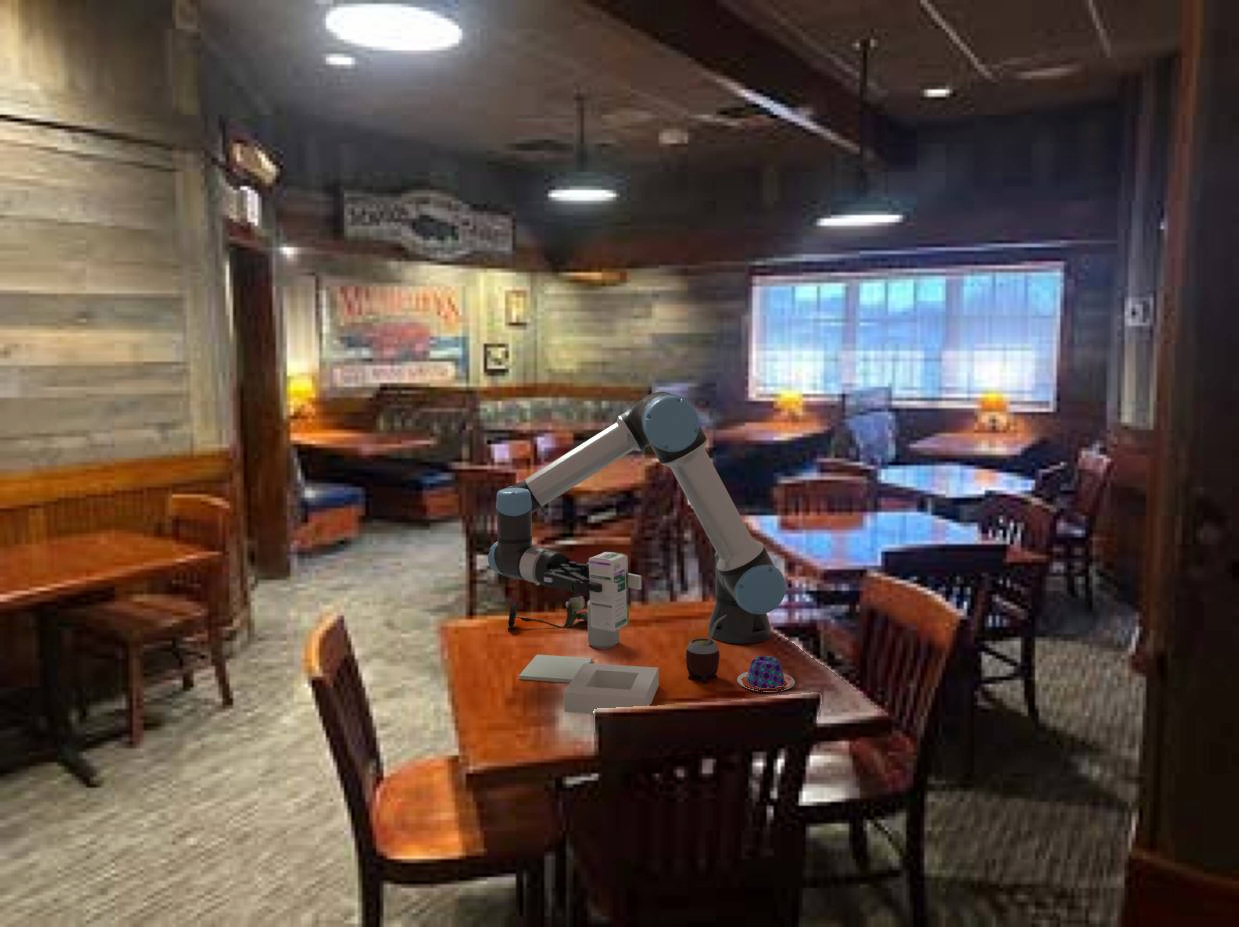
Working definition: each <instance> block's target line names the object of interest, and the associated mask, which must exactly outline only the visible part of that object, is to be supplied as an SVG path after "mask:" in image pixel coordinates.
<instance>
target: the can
mask: <svg viewBox="0 0 1239 927" xmlns="http://www.w3.org/2000/svg"><path fill="white" fill-rule="evenodd" d="M586 604H587V608H586V609H587V613H588V621H587V642H588V644H590V646H592V647H593V648H595V649H611V648H615V646H616V645H618V643H620V629H618V630H616V631H615V632H612V631H606V630H601V629H596V628H592V627H591V616H590V599H589V600H588V601H587V602H586Z"/></svg>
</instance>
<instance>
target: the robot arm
mask: <svg viewBox="0 0 1239 927" xmlns="http://www.w3.org/2000/svg"><path fill="white" fill-rule="evenodd" d="M699 418H700V417H699V416H698V412H697V409H696V408H695V407H694V406H693V404H692V403H691V402H690V401H688V400H687V399H685V397H682V396H681V395H678V394H674V393H670V392H665V391H656V392H653V393H651V394H649V395H646V396H645V397H644V398H642V399H641V400H640V401H638V402H637V403H635V404H634V405H633V406H631V407H630V408H628V409H627V410H625V411H624V412H622V413H621V414H619V415H618V416H617V418H616V422H614V423H613V424H611V425H610V426H608V427H607V428H605V429H603V430H602V431H600V432H598V433H597V434H595V435H593V436H592V437H590V438H589V439H587V440H586V441H584V442H582V443H581V444H580V445H578V446H576V447H575V448H573V449H571V450H569V451H568V452H566V453H565V454H563V455H562V456H560V457H558V458H557V459H555V460H553V461H552V462H550V463H548V464H546V466H543V467H542V468H540V469H539V470H537V471H535V472H534V473H532V474H531V475H529V476H528V477H526V478H525V479H522V480H521V481H520V482H518V483H516V484H515V485H511V486H507V487H506V488H502V489H500V490H498V491H497V493H496V502H495V507H496V508H495V509H496V525H497V541H496V542H494V543H493V544H492V545H491V546H490V548H489V552H488V554H487V563H488V565H489V567H490V570H492V571H493V572H495V573H496V574H500V575H502V576H504V577H506V578H513V579H517V580H521V581H522V580H523V581H526V582H530V583H534V584H535V586H539V585H542V586H545V587H549V588H553V589H560V590H564V591H567V592H571V593H573V594H576V595H577V594H580V593H581V591H582V592H583V597H586V596H590V592H593V593H597V594H601V595H605V596H609V597H613V598H616V597H618V583H613V582H609V581H605V580H600V579H596V578H590V581H589V560H586V561H585V563H582V562H581V563H580V562H578V561H571V560H570V559H569V557H568V556H567V554H565V553H563V552H560V551H556V550H550V549H546V548H542V547H537V546H533V534H532V533H533V529H532V528H533V527H532V525H533V524H532V521H533V520H532V519H533V518H532V517H533V516H532V514H533V513H534V512H536V511H538V509H540V508H542V507H543V506H545V505H546V504H548V503H550V502H551V501H553V500H555V499H557V498H558V497H560V496H561V495H564V494H565V493H566V492H567V491H569V490H571V489H572V488H574V487H575V486H577V485H579V484H580V483H583V482H584V481H586V480H587V479H589V478H591V477H592V476H594V475H595V474H597V473H599V472H600V471H602V470H603V469H605V468H607V467H608V466H609V465H611V464H613V463H615V462H616V461H618V460H619V459H621V458H623V457H624V456H626V455H628V454H629V453H631V452H632V451H638V452H641V451H642V450H644V449H645V448H648V447H650V446H651V448H652V450H653V452H654V454H655V456H656V458H657V460H658V461H659V463H660V465H663V466H665V467H669V468H670V469H671V471H672V473H673V475H674V477H675V479H676V480H677V482H678V484H679V486H680V487H681V489H682V492H683V494H684V495H685V497H686V499H687V501H688V503H689V505H690V506H691V508H692V510H693V512H694V514H695V516H696V517H697V520H698V521H699V523H700V525H701V526H702V528H703V531H704V532H705V534H706V536H707V538H708V539H709V541H710V544H711V545H712V547H713V548H714V550H715V554H714V557H715V601H714V602H715V603H714V605H713V609H712V612H711V615H710V618H709V621H708V627H707V631H708V635H709V636H710V633H711V631H712V628H713V627H712V626H713V624H714V622H716V621H717V620H718V619H719V618H721V617H723V616H725V615H727V616H726V617H725V618H723V619H722V620H720V621H719V622H718V623H717V626H716V628H715V630H714V633H713V635H712V638H711V639H714V640H716V641H719V642H723V643H729V644H737V645H738V644H739V645H740V644H741V645H743V644H745V645H746V644H757V643H761V642H763V641H766V640H768V639H770V637H771V636H772V635H771V634H772V633H771V632H772V631H771V622H770V619H769V616H768V613H771V612H772V611H774V610H775V609H777V608H778V606H780V605H781V603H782V602H783V600H784V598H785V595H786V591H787V582H786V579H785V577H784V574H783V572H782V571H780V569H779V568H777V567H776V566H775V564H774V562H773V561H772V560H773V559H772V558H771V556H770V554H769V553H768V550H767V549H766V548H765V544H764V543H763V542H762V541H757V540H754V539H753V537H752V535H751V534H750V531H749V530H748V527H747V526H746V524H745V522H744V520H743V518H742V516H741V515H740V512H739V511H738V509H737V507H736V505H735V503H734V502H733V500H732V498H731V496H730V494H729V492H728V490H727V488H726V485H724V483H723V481H722V479H721V477H720V475H719V474H718V472H717V469H716V468H715V466H714V464H713V462H712V460H711V458H710V456H709V455H708V453H707V451H706V446H707V442H708V438H707V436H706V434H705V432H704V430H703V428H702V426H701V425H700V419H699ZM628 589H632V590H633V589H634V590H637V591H640V590H642V575H639V574H634V573H630V572H628Z"/></svg>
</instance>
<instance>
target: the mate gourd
mask: <svg viewBox="0 0 1239 927" xmlns="http://www.w3.org/2000/svg"><path fill="white" fill-rule="evenodd" d="M726 616H727V615H725V616H723V617H721V618H719V619H718V620H717V621H716V622H714V624H713V626H712V627H713V628H712V631H711V633H710V635H709V636H708V638H705V637H704V638H703V637H701V638H699V637H698V638H694V639H692V640H691V641H690V642H689V643H688V645H687V647H686V651H685V662H686V669H687V672H688V676H687V678H688V680H701V682H702V683H703V684H704V685H705V684H708V681H707V679H709V678H712V679H717V678H718V675H717V673H718V669H719V664H720V657H721V656H720V651H719V647H718V645H717V643H716V642H715V640H713V638H712V635H713V633H714V630H715V628H716V626H717V623H718V622H719V621H720V620H722V619H723V618H725V617H726Z"/></svg>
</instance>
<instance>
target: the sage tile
mask: <svg viewBox="0 0 1239 927" xmlns="http://www.w3.org/2000/svg"><path fill="white" fill-rule="evenodd" d="M583 663H593V657H583V656H581V657H580V656H567V655H566V656H565V655H552V654H551V655H549V654H536V655H535V656H534V657H533V658H532V660H531V661H529V663H528V664H527V666H526V667H525V668H524V669H523V670H522V671H521V672H520V673H519V675H518V680H524V681H525V680H526V681H539V682H555V683H566V684H568V683H569V684H570V682H571V681H572V679H573V678H574V677H575V675H576V674H577V672H578V671H579V669H580V668H581V666H582V665H583Z"/></svg>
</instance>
